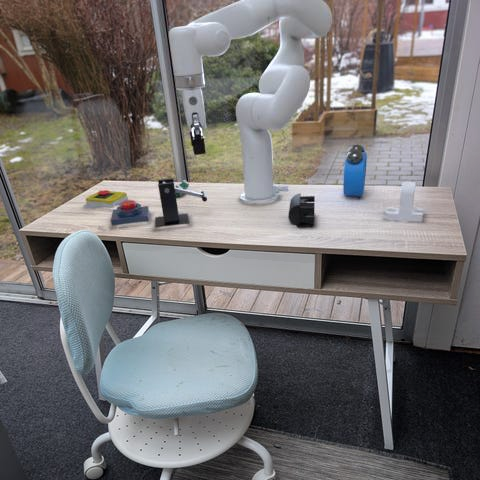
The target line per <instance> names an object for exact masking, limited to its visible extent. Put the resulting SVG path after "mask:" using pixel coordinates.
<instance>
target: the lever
mask: <svg viewBox="0 0 480 480" xmlns="http://www.w3.org/2000/svg"><path fill="white" fill-rule="evenodd" d="M163 183H167V182H163ZM174 188H175V192H178V193H181V194H182V195H187V196H192V197H196V198H200V199H201V200H202V202H204V203H205V202H207V201H208V197H207V193H206V191H204V190H202V191H201V192H196V191H192V190H189V189H185V190H184V189H180V188H176V186H175V187H174Z"/></svg>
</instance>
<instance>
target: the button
mask: <svg viewBox="0 0 480 480" xmlns="http://www.w3.org/2000/svg"><path fill="white" fill-rule="evenodd" d="M136 203H137V202H136V201H135V200H133V199H128V201H124V202H122V203H121V208H122V210H131V209H134V208H136Z"/></svg>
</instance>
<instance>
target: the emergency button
mask: <svg viewBox="0 0 480 480" xmlns="http://www.w3.org/2000/svg"><path fill="white" fill-rule="evenodd" d="M128 200H129V197H128V194H127V192H125V191H124V192H123V191H115V190H114V191H113V190H107V189H105V190H99V191H97V192H95V193H93V194H91V195H89V196H87V197H85V204H83V208H86V209H92V210H96V209H101V208H102V209H103V208H108V209H111V208H116V207H119V206H120V205H121V203H122V202H124V201H128Z"/></svg>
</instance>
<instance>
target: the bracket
mask: <svg viewBox="0 0 480 480" xmlns="http://www.w3.org/2000/svg"><path fill="white" fill-rule="evenodd" d="M163 182H167V183H163ZM157 183H158V184H157V187H158V193H159V199H160V205H161V210H162V211H161V212H162V215H161V216H154V217H155V218H154V228H163V227H170V226H171V227H172V226H180V225H188V224H190V219H189V213H179V207H178V201H177V196H176V193H175V188H174V187H176V185H175V180H174V177H171V178H162V179H158V180H157Z"/></svg>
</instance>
